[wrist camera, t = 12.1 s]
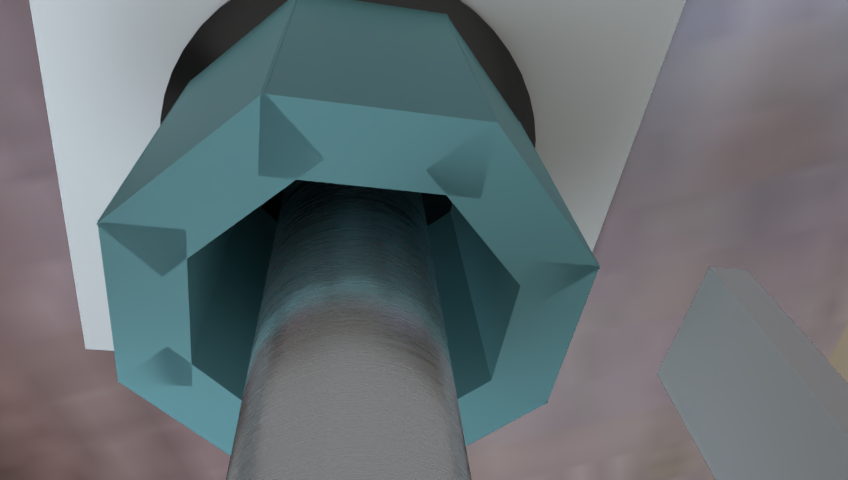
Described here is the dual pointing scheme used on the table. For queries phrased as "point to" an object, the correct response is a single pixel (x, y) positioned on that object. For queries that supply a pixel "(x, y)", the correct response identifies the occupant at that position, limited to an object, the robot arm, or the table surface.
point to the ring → (350, 165)
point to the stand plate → (194, 3)
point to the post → (351, 304)
